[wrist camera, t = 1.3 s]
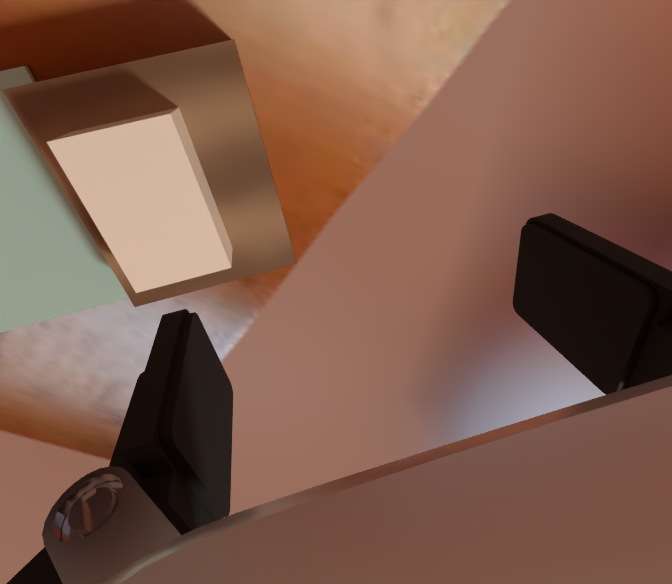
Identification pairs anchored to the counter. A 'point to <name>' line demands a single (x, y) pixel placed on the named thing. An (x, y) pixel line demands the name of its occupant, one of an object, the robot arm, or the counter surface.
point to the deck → (207, 137)
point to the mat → (42, 233)
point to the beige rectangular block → (147, 197)
